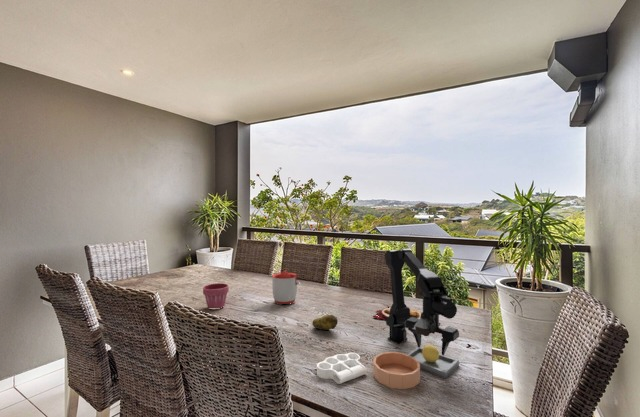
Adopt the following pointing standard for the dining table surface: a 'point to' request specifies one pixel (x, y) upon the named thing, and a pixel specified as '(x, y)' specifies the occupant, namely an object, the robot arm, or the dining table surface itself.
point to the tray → (435, 363)
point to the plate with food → (386, 312)
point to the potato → (325, 322)
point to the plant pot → (215, 294)
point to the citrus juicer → (284, 287)
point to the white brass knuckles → (341, 367)
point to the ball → (430, 353)
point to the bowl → (396, 370)
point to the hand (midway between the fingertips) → (430, 351)
